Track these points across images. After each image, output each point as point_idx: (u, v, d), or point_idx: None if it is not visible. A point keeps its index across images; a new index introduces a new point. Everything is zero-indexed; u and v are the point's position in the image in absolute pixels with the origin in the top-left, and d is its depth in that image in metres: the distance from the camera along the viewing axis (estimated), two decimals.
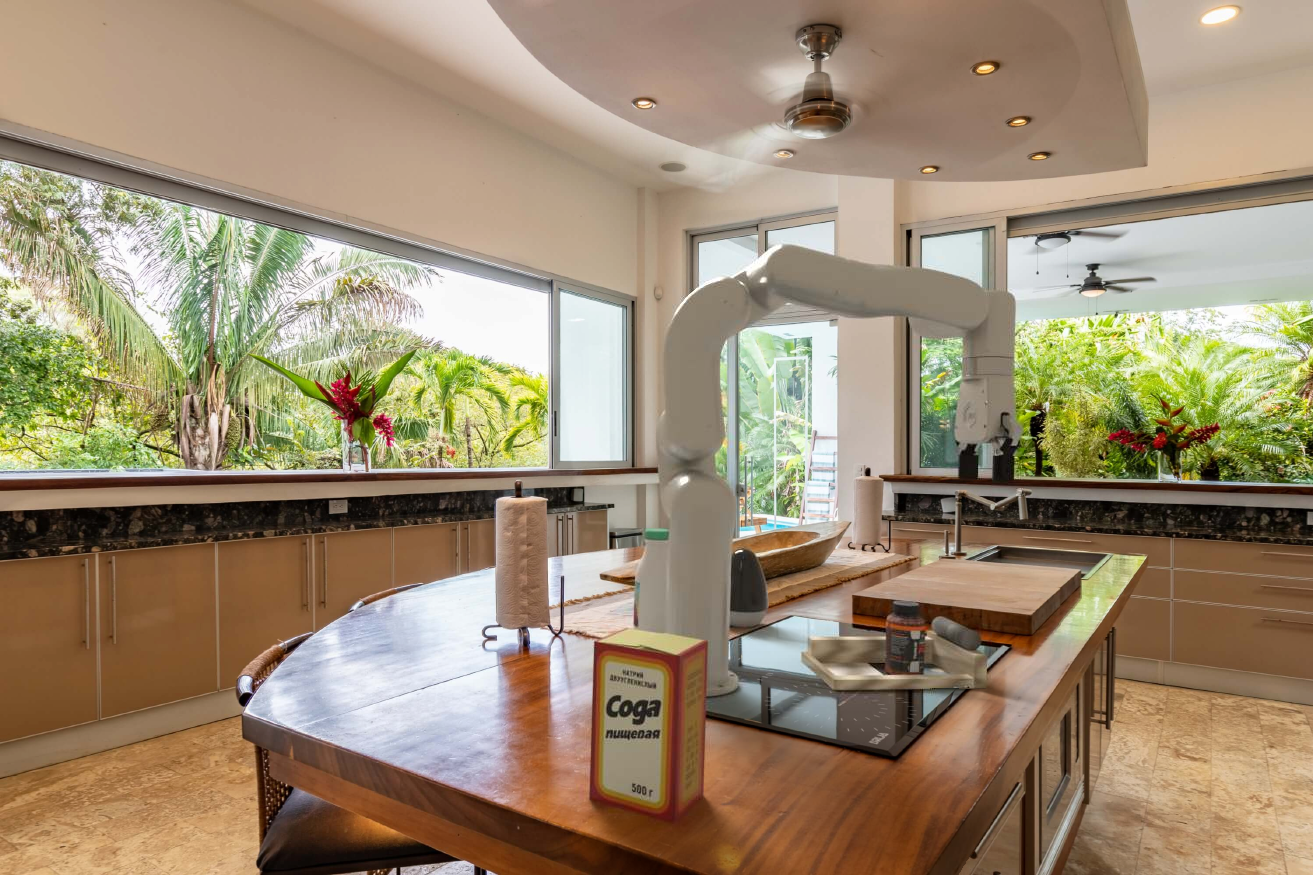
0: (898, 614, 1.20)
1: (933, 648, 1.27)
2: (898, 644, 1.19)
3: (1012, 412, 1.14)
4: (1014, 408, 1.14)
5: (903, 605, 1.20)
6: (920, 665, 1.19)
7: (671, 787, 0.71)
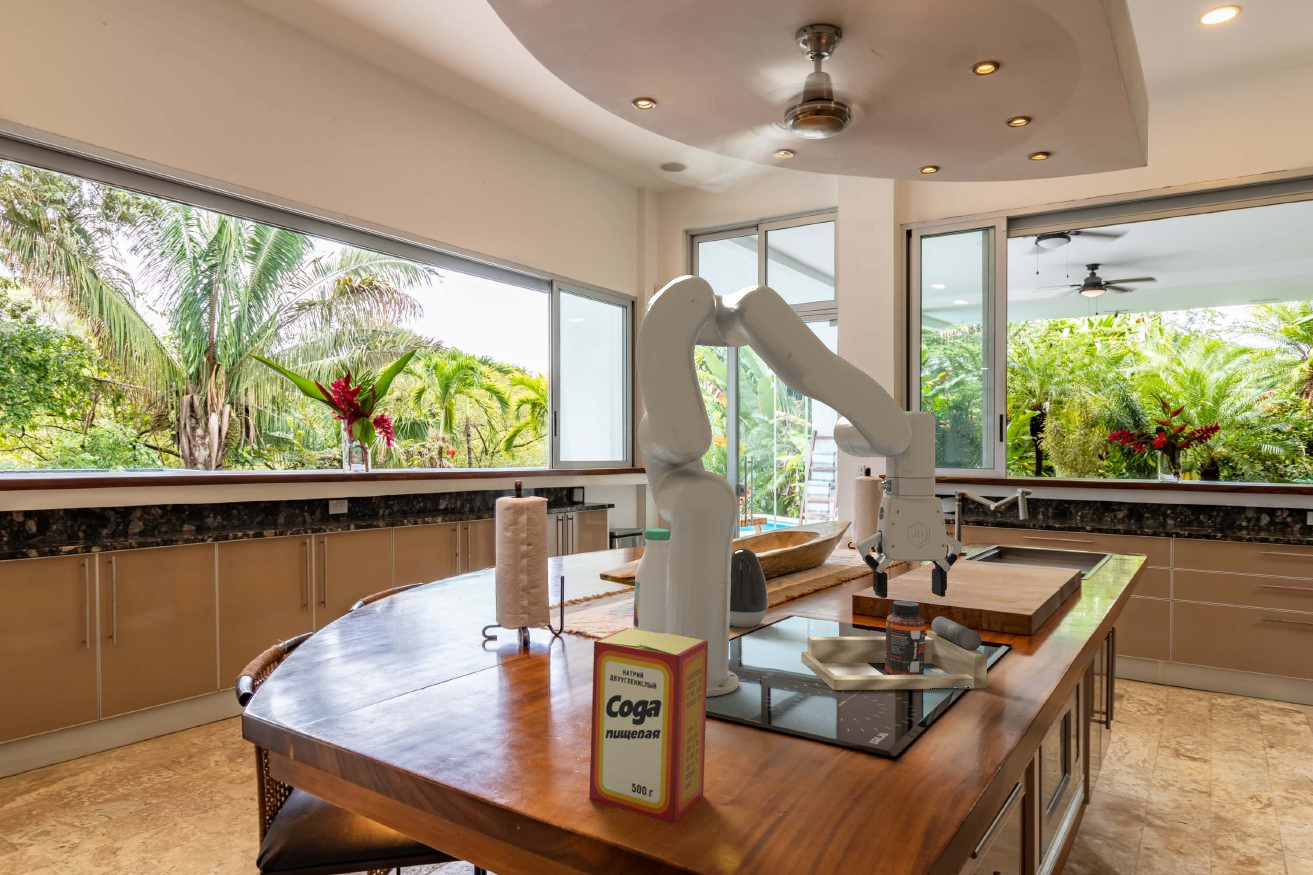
0: (899, 614, 1.20)
1: (933, 648, 1.27)
2: (898, 644, 1.19)
3: None
4: None
5: (903, 605, 1.20)
6: (920, 665, 1.19)
7: (671, 787, 0.71)
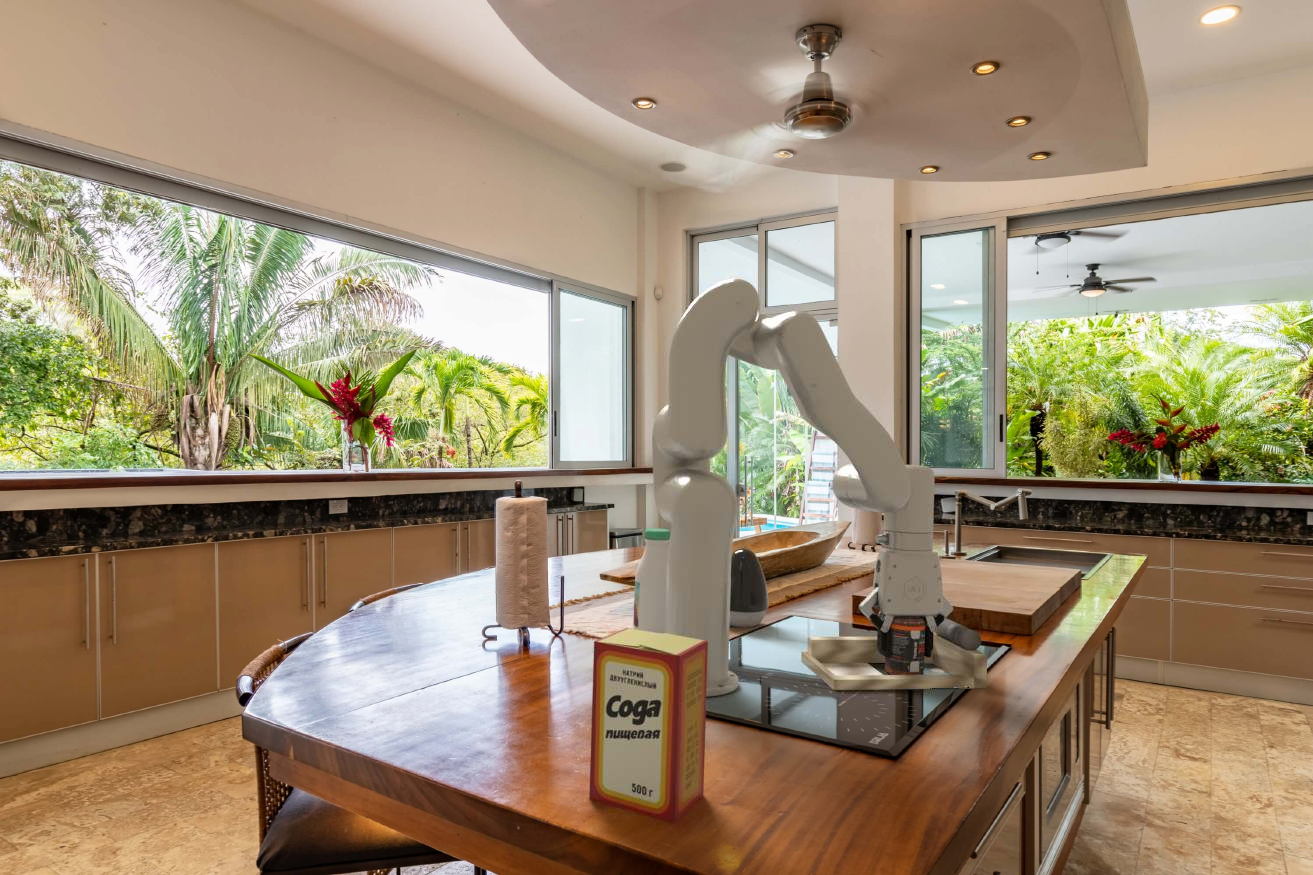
0: None
1: (933, 648, 1.27)
2: (898, 644, 1.19)
3: None
4: None
5: None
6: (920, 665, 1.19)
7: (671, 787, 0.71)
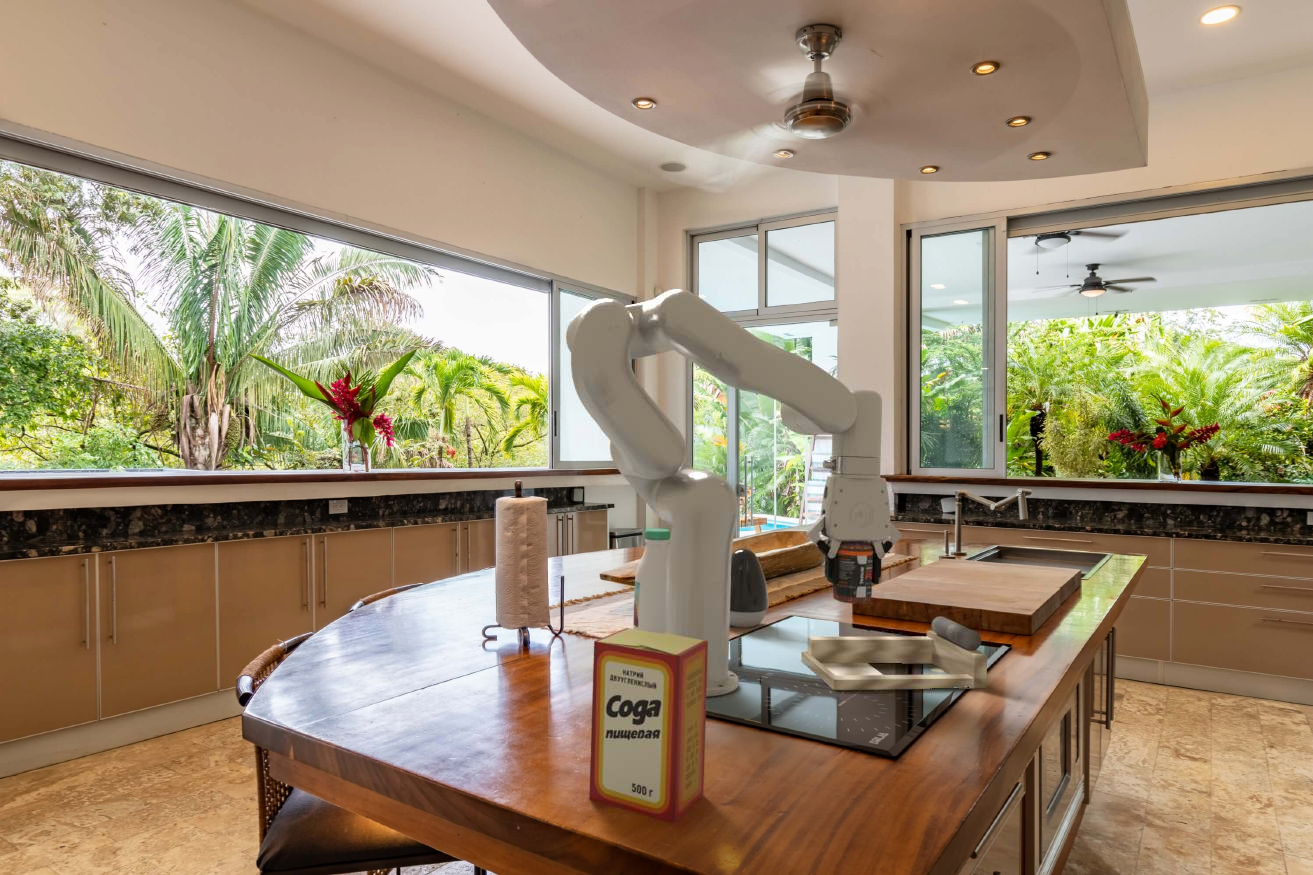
0: None
1: (933, 648, 1.27)
2: (845, 569, 1.18)
3: None
4: None
5: None
6: (867, 590, 1.18)
7: (671, 787, 0.71)
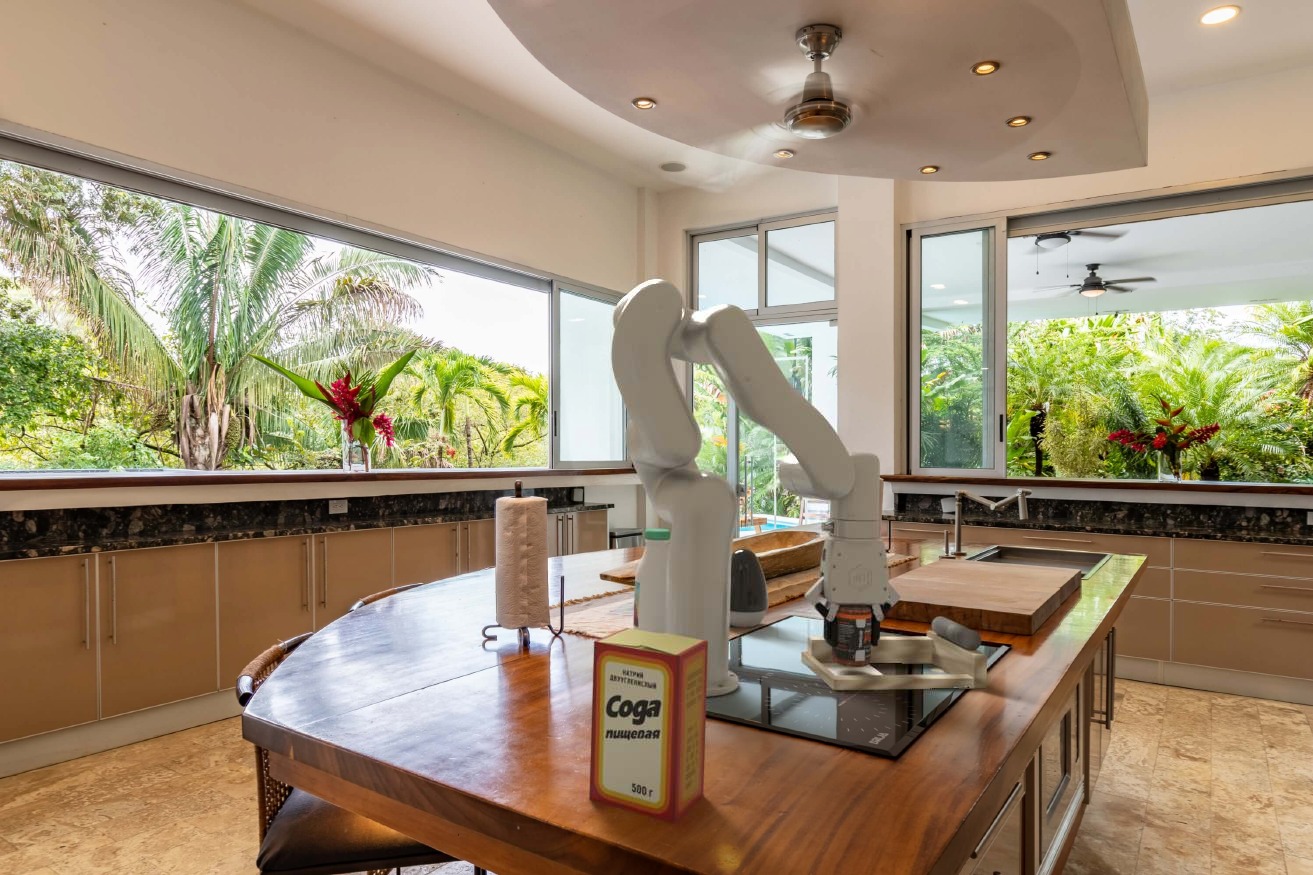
0: None
1: (933, 648, 1.27)
2: (844, 633, 1.18)
3: None
4: None
5: None
6: (865, 653, 1.18)
7: (671, 787, 0.71)
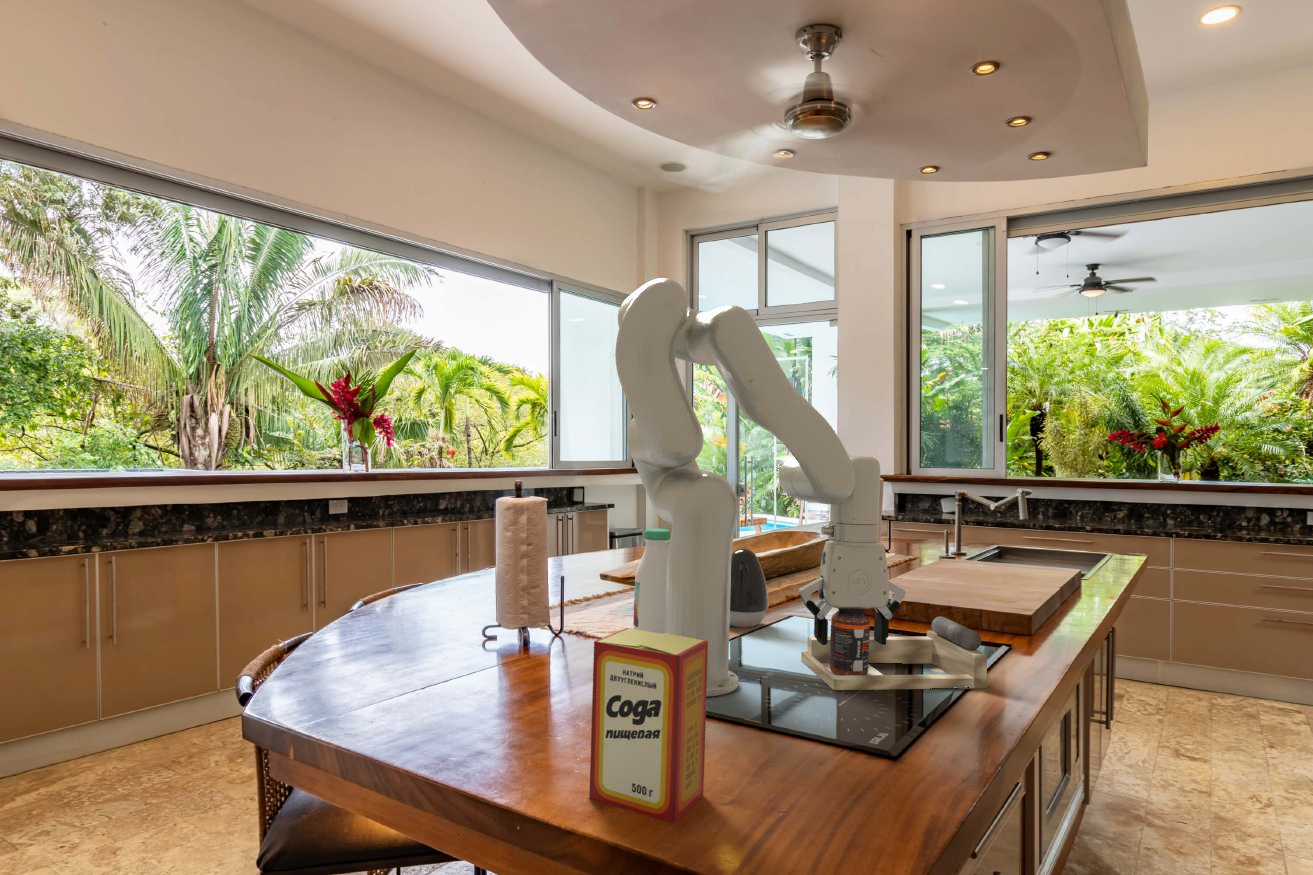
0: (843, 613, 1.19)
1: (933, 648, 1.27)
2: (842, 643, 1.18)
3: None
4: None
5: None
6: (863, 664, 1.17)
7: (671, 787, 0.71)
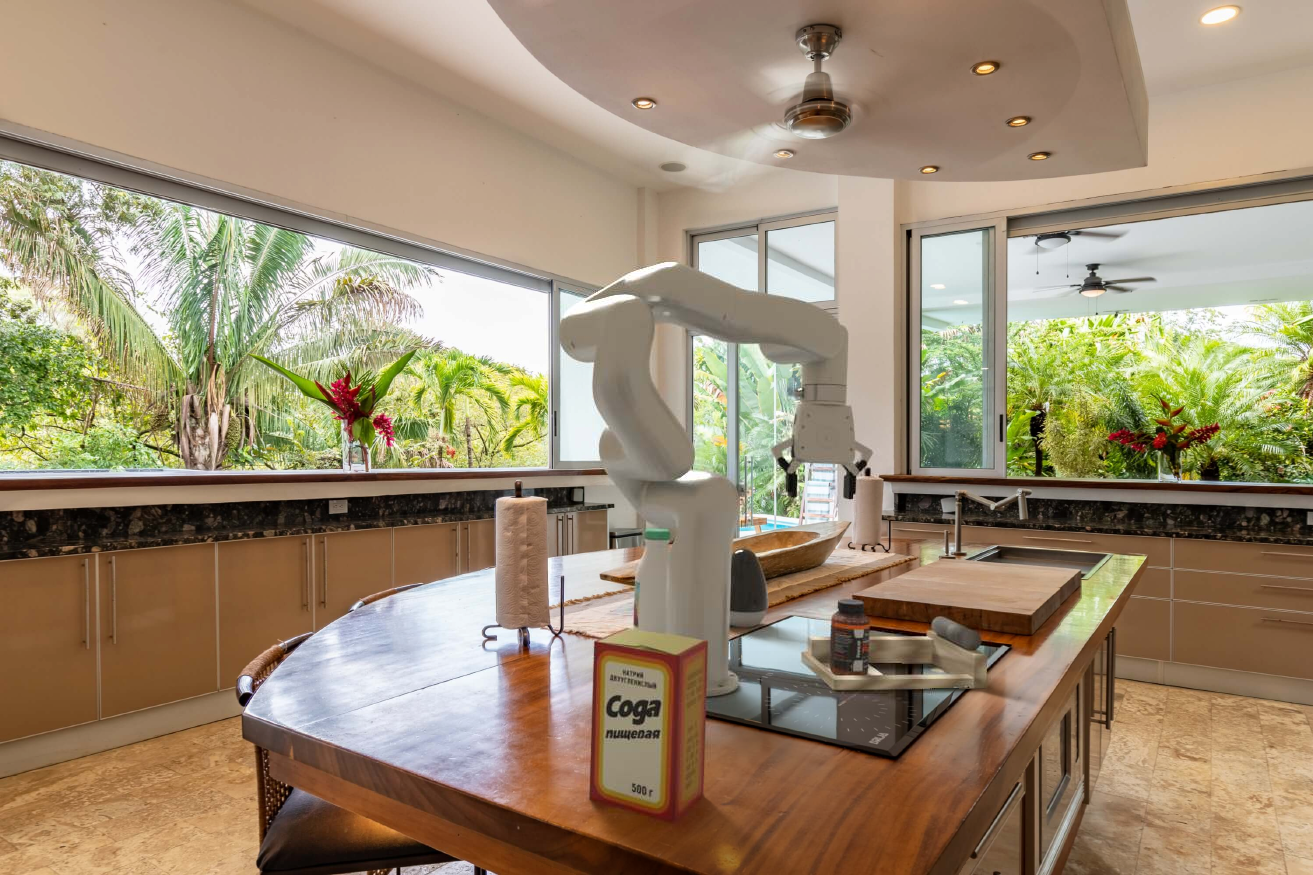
0: (843, 613, 1.19)
1: (933, 648, 1.27)
2: (842, 643, 1.18)
3: None
4: None
5: (847, 603, 1.18)
6: (863, 664, 1.17)
7: (671, 787, 0.71)
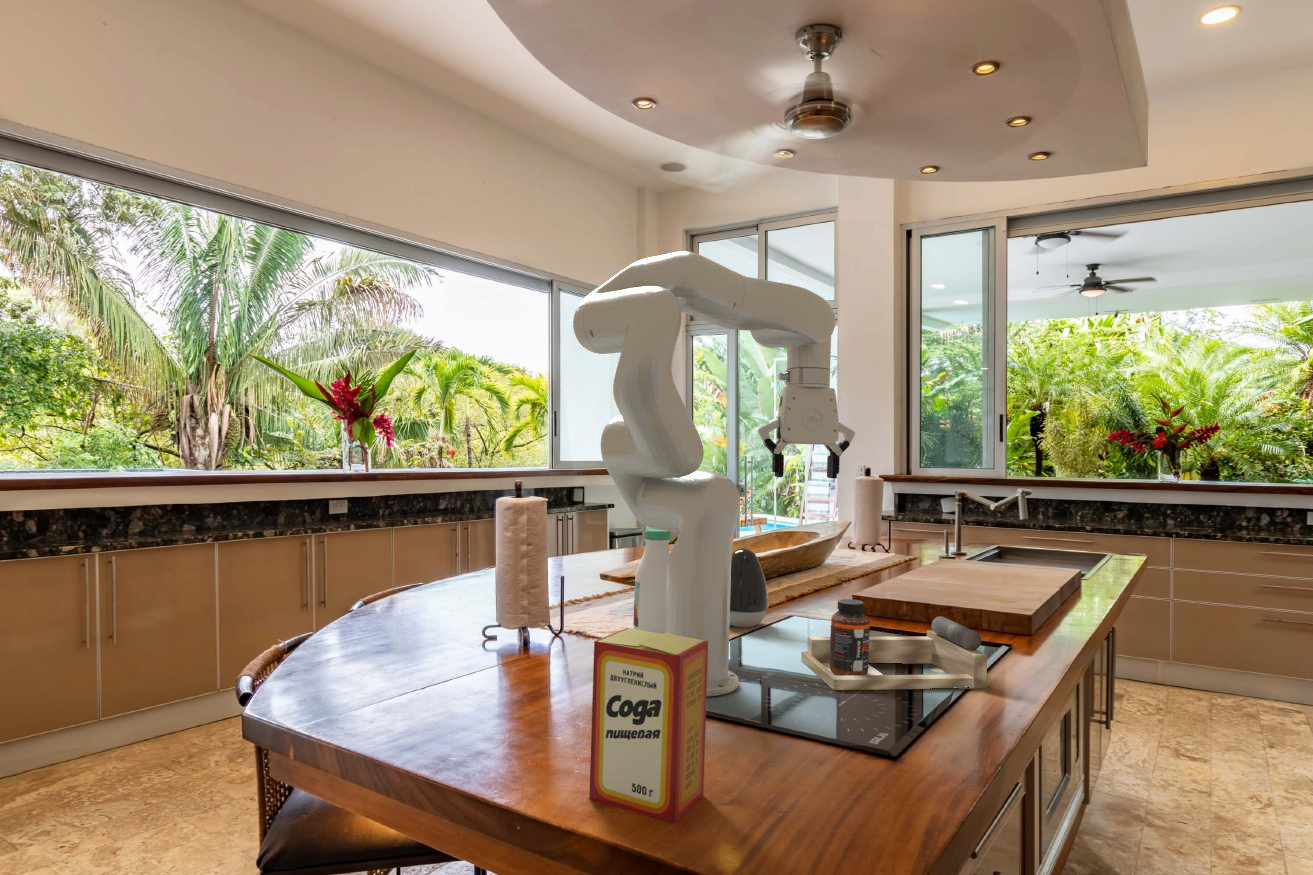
0: (842, 613, 1.19)
1: (933, 648, 1.27)
2: (842, 643, 1.18)
3: None
4: None
5: (847, 603, 1.18)
6: (863, 664, 1.17)
7: (671, 787, 0.71)
